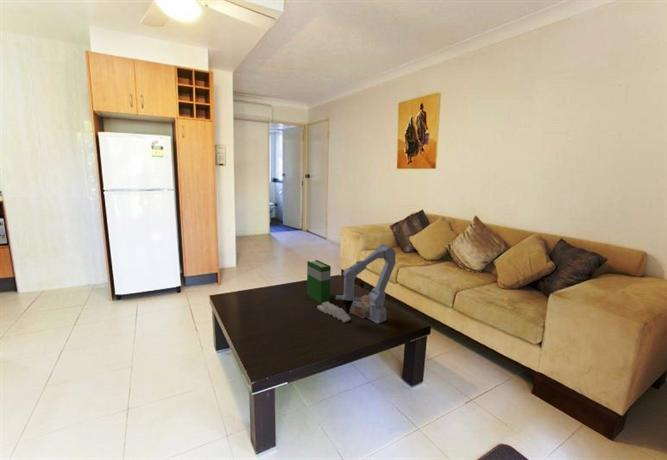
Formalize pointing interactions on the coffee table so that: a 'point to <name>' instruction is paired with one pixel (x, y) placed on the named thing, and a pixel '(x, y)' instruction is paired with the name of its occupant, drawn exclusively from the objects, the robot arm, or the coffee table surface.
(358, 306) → the stack of blocks
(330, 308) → the domino
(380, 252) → the robot arm
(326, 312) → the domino
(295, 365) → the coffee table surface
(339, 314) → the domino
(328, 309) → the domino
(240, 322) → the coffee table surface
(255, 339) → the coffee table surface
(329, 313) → the domino
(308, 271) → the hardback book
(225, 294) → the coffee table surface
